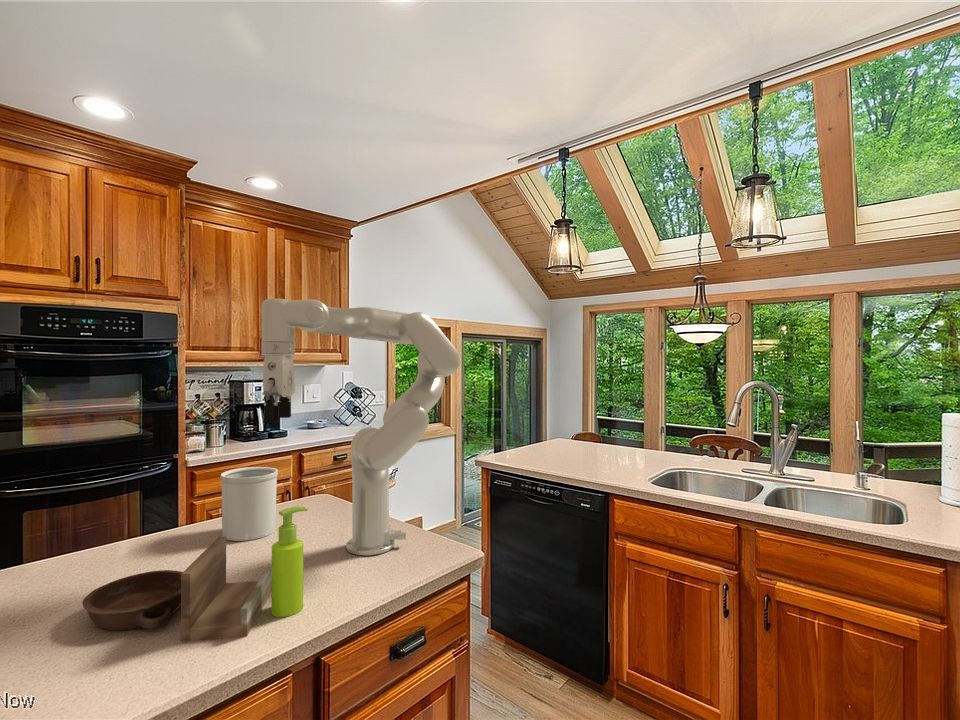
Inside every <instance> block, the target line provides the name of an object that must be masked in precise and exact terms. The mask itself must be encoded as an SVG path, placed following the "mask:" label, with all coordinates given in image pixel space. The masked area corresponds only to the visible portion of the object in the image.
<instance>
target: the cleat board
mask: <svg viewBox="0 0 960 720" xmlns="http://www.w3.org/2000/svg"><path fill="white" fill-rule="evenodd" d="M182 572H183V573H182V574H181V604H180V642H190V641H203V640H212V639H213V640H215V639H226V638H238V637H239V638H240V637H241V638H242V637H247V636H248V635H249V634H250V631H251V630H252V627H253V626H254V624H255V622H256V620H257V619H258V617H259V615H260V613H261V611H262V610H263V607H264V606H265V604H266V602H267V600H268V598H269V597H270V595H272V565H271V566H267V567H266V569H265V571H264V573H263V574H262V576H261V577H260V579H259V580H255V581H254V580H253V581H240V582H239V581H237V582H227V539H226V537H223V536H218V537H217V538H216V539H215V540H214V541H213V542H212V543H211V544H210V545H209V546H208V547H207V548H206V549H205V550H204V551H203V552H202V553H201V554H200V555H199V556H198V557H197V558H195V560H194V561H192V563H191V564H189V566H188V567H187V568H186V569H185V570H184V571H182Z"/></svg>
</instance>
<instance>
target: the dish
mask: <svg viewBox="0 0 960 720" xmlns="http://www.w3.org/2000/svg"><path fill="white" fill-rule="evenodd" d="M183 572H184V571H180V570H173V569H171V570H170V569H165V570H164V569H163V570H161V569H160V570H152V571H146V572H141V573H136V574H132V575H129V576H125V577H122V578H119V579H116V580H113V581H111V582H108V583H106V584H104V585H102V586H99V587H96V588H94V590H92V591H90V592H89V593H88V594H87V595H86V596H85V597H84V598H83V600H82V602H81V603H82V607H83V609H84V610H85V611H87V614H88V616H89V619H90V621H91V623H92V624H93V625H94V626H96V627H97V628H99V629H100V628H101V629H104V630H110V631H124V630H126V631H128V630H134V629H139V628H144V629H148V630H149V629H150V630H151V629H158V628H160V627H162V626H164V625H165V624H167V622H168V621H170V619H171V615H172V613H174V612H176V610H177V609H178V608H179V607H181V574H182V573H183Z"/></svg>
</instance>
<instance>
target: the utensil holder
mask: <svg viewBox="0 0 960 720" xmlns="http://www.w3.org/2000/svg"><path fill="white" fill-rule="evenodd" d="M278 472H279V470H278V469H277V468H275V467H270V466H269V467H268V466H249V467H239V468H234V469H229V470H226V471H224V472H222V473H221V474H220V481H221V530H222V531H221V532H222V534H221V535H222V537H226V541H233V542H244V541H251V540H252V541H253V540H257V539H261V538H265V537H267V536H270V535H272V532H273V533H274V531H275V530H276V516H277V515H276V514H277V487H278V486H277V484H278V482H277V481H278V480H277V477H278V475H279V473H278Z"/></svg>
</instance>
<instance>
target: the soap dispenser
mask: <svg viewBox="0 0 960 720" xmlns="http://www.w3.org/2000/svg"><path fill="white" fill-rule="evenodd" d="M308 510H309V508H307V507H306V506H292V507H288V508H284V509H282V510H279V511H278V515H280V516H281V517H282V524H281V525H280V526H279V527H278V541H276V542H274V543H273V544H272V545H271V566H272V592H271V614H272V615H273V617H274V616H275V617H277V618H279V617H280V618H286V617H291V616H295V615H297V614H298V613H301V611H302V610H303V609H304V541H303V540H301V539H298V538H297V536H298V535H297V533H298V532H297V525H296V524H294V523H293V514H295V513H299V512H308Z"/></svg>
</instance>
